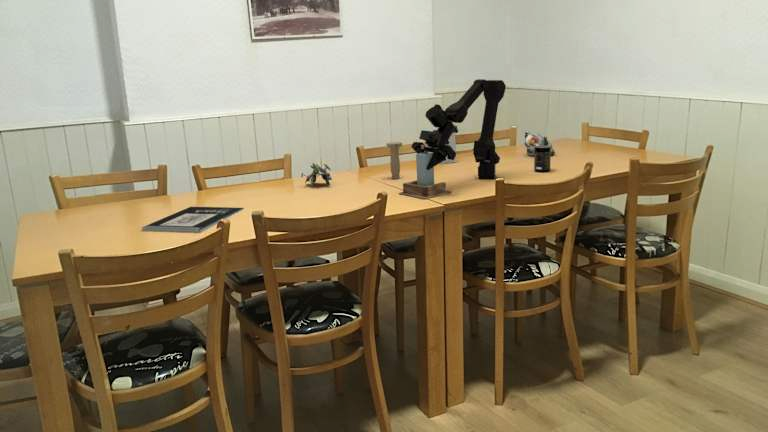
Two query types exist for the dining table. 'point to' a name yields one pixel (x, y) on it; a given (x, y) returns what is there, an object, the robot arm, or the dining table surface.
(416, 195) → the brown wooden tray
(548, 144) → the lucky cat figurine
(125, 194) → the dining table surface
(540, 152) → the supplement container
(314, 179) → the dark green irregular figure
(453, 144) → the skincare box
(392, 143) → the handle
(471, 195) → the dining table surface
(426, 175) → the post
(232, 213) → the sketchbook
